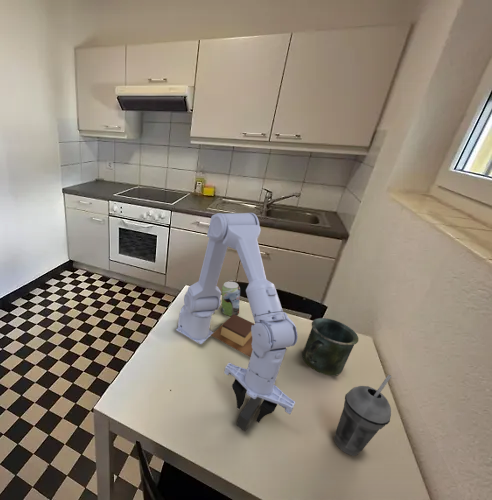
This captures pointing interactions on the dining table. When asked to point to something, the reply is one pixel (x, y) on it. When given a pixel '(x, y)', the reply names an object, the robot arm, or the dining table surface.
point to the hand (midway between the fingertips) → (249, 412)
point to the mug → (329, 346)
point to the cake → (237, 329)
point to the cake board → (244, 349)
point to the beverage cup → (362, 418)
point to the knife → (248, 413)
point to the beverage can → (230, 298)
